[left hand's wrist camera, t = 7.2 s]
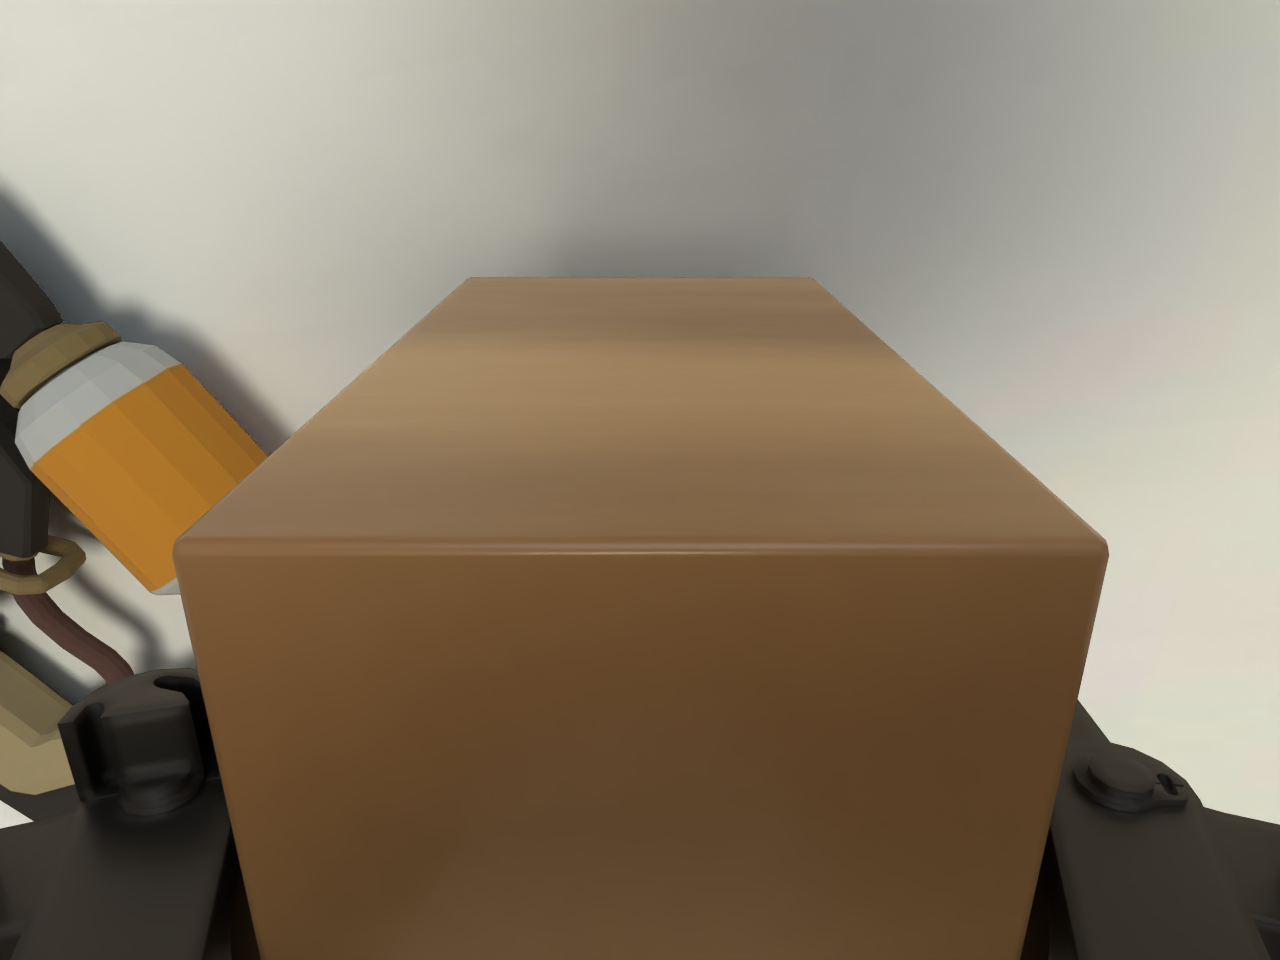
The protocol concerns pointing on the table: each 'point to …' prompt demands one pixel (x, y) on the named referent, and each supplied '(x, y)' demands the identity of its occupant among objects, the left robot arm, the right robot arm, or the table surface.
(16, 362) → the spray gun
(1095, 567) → the bar
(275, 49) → the table surface
